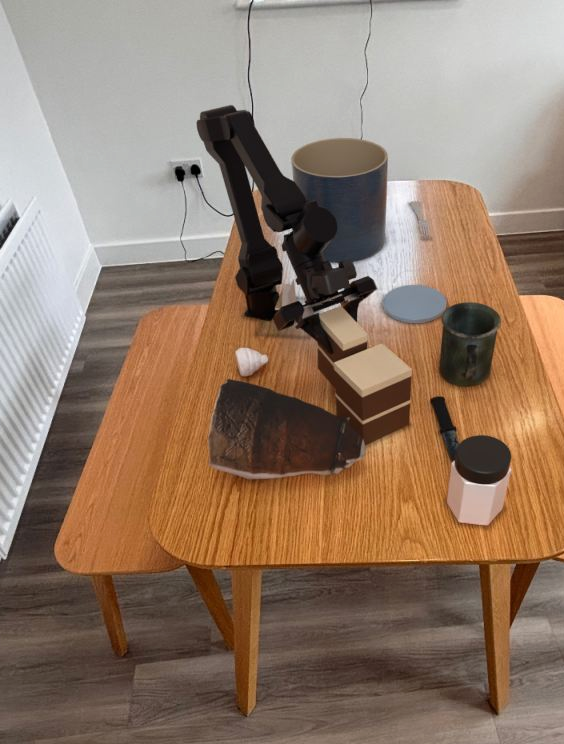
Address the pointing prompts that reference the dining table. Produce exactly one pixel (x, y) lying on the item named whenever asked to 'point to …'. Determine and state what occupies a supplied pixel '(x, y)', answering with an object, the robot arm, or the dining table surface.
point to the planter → (346, 192)
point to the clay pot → (277, 435)
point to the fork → (420, 219)
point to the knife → (446, 425)
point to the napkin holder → (286, 295)
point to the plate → (414, 304)
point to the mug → (468, 343)
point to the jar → (479, 479)
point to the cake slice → (339, 340)
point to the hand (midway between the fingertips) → (344, 348)
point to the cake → (373, 392)
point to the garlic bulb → (249, 361)
